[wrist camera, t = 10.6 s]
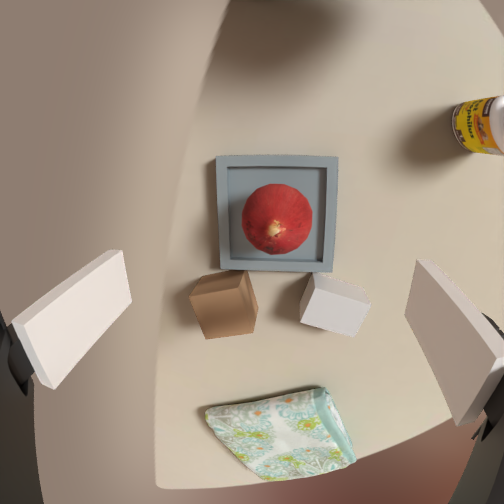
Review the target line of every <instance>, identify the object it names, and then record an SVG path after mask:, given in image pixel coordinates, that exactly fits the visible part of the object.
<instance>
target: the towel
mask: <svg viewBox="0 0 504 504" xmlns="http://www.w3.org/2000/svg"><path fill="white" fill-rule="evenodd" d="M205 420H206V422H207V423H208V426H209V427H210V428H212V429H213V431H214V433H215V435H216V437H217V438H218V439H219V440H220V441H221V442H222V443H223V444H224V445H225V446H226V447H227V448H228V449H229V450H230V451H231V452H232V453H233V454H234V455H235V456H236V457H237V458H238V459H239V460H240V461H241V462H242V463H243V464H244V465H245V466H246V467H248V468H249V469H250V470H251V471H252V472H254V473H255V474H256V475H257V476H258V477H260V478H261V479H264V480H266V481H282V480H290V479H296V478H304V477H310V476H315V475H319V474H323V473H327V472H331V471H334V470H337V469H342V468H345V467H347V466H348V465H349V464H352V463H354V462H356V460H357V459H356V456H355V454H354V452H353V450H352V448H353V446H352V442H351V440H350V437H349V435H348V433H347V431H346V429H345V426H344V424H343V422H342V419H341V417H340V414H339V412H338V410H337V408H336V406H335V403H334V401H333V399H332V397H331V395H330V393H329V391H328V390H327V389H326V388H325V387H323V388H317V389H312V390H307V391H302V392H297V393H292V394H287V395H283V396H278V397H274V398H269V399H264V400H260V401H255V402H250V403H243V404H234V405H224V406H216V407H213V408H208V409H207V410H206V412H205Z"/></svg>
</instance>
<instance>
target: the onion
mask: <svg viewBox="0 0 504 504" xmlns="http://www.w3.org/2000/svg"><path fill="white" fill-rule="evenodd" d="M312 213H313V211H312V209H311V207H310V204H309V202H308V199H307V198H306V197H305V196H304V195H303V194H302V193H300V192H299V191H298V190H297V189H295V188H293V187H290V186H288V185H285V184H268V185H265V186H262V187H260V188H257V189H256V190H255V191H254V192H253V193H252V194H251V195H250V196H249V197H248V198H247V200H246V203H245V205H244V208H243V210H242V224H241V226H242V229H243V231H244V234H245V236H246V239H247V240H248V241H249V242H250V243H251V244H252V245H253V246H254V247H255V248H256V249H258V250H260V251H263V252H265V253H267V254H270V255H278V254H286V253H289V252H291V251H293V250H295V249H297V248H298V247H299V246H300V245H301V244H302V243H303V242H304V241H305V240H306V239H307V238H308V235H309V233H310V230H311V228H312Z"/></svg>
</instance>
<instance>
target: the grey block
mask: <svg viewBox="0 0 504 504" xmlns="http://www.w3.org/2000/svg"><path fill="white" fill-rule="evenodd" d="M299 305H300V323H304V324H307V325H311V326H314V327H318V328H321V329H325V330H329V331H332V332H336V333H339V334H343V335H347V336H351V337H355V335H356V333H357V331H358V330H359V328H360V326H361V324H362V322H363V321H364V319H365V317H366V315H367V313H368V311H369V309H370V307H371V303H370V301H369V298H368V296H367V294H366V292H365V290H364V288H363V287H360V286H357V285H354V284H351V283H347V282H344V281H341V280H338V279H335V278H332V277H329V276H326V275H323V274H320V273H317V272H312V274H311V277H310V279H309V282H308V284H307V286H306V289H305V291H304V294H303V296H302V298H301V301H300V303H299Z"/></svg>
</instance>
